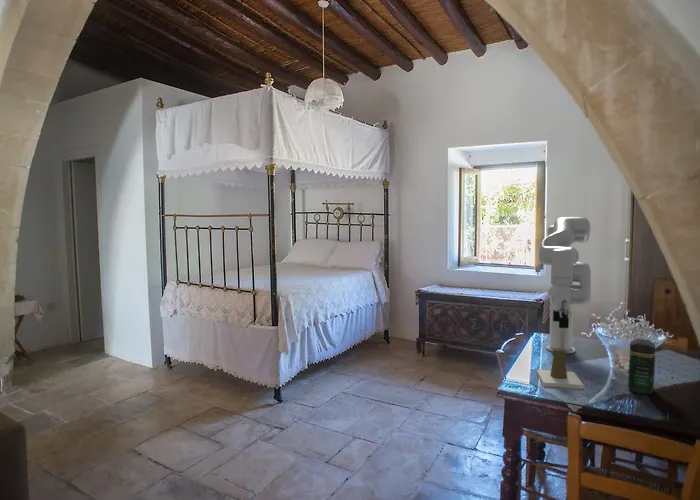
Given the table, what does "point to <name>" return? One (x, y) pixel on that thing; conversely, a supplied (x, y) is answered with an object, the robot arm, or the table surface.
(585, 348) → the table surface
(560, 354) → the cork
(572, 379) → the tile
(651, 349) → the coffee jar
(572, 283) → the robot arm
